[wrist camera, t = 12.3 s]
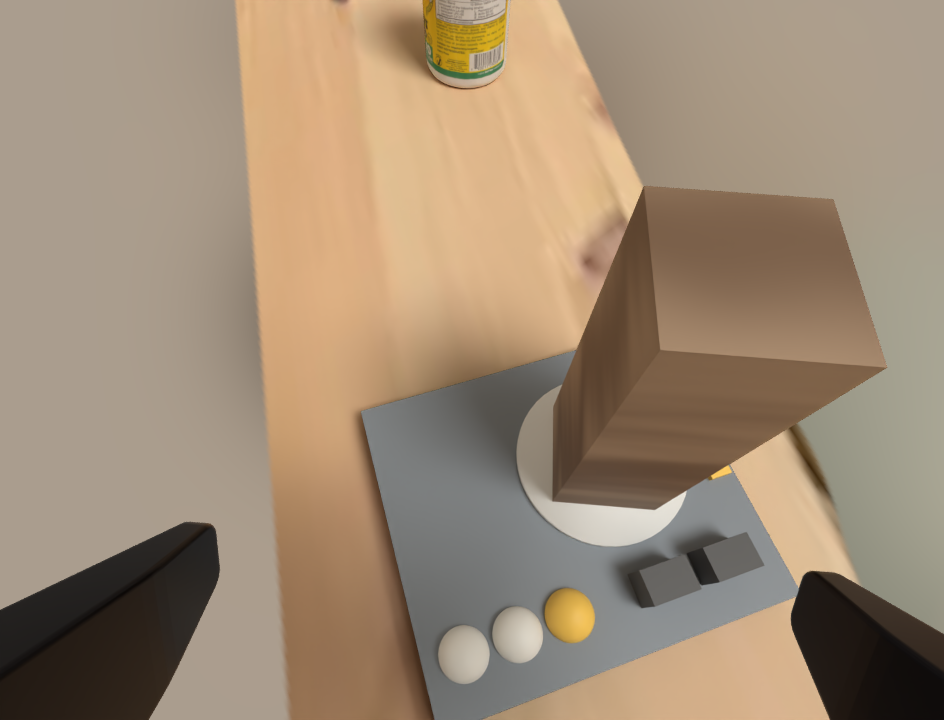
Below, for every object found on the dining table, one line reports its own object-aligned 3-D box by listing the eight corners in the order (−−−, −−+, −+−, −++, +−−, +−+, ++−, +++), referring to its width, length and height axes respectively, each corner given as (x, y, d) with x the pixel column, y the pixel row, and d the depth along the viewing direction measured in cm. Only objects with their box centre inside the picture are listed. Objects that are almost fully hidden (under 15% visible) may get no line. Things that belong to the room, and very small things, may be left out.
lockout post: (654, 510, 20) (887, 367, 9) (552, 501, 20) (660, 349, 9) (647, 414, 22) (832, 199, 11) (553, 406, 22) (644, 185, 11)
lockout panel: (784, 596, 20) (827, 591, 18) (439, 729, 18) (436, 745, 16) (646, 340, 26) (665, 310, 23) (365, 421, 23) (354, 397, 21)
